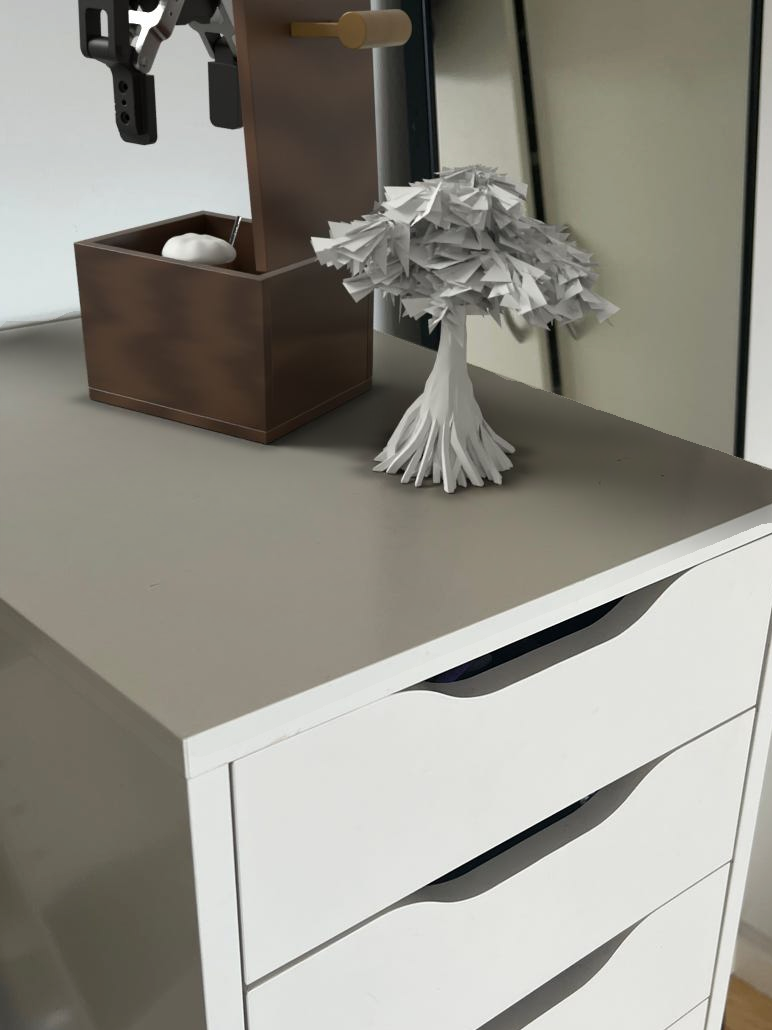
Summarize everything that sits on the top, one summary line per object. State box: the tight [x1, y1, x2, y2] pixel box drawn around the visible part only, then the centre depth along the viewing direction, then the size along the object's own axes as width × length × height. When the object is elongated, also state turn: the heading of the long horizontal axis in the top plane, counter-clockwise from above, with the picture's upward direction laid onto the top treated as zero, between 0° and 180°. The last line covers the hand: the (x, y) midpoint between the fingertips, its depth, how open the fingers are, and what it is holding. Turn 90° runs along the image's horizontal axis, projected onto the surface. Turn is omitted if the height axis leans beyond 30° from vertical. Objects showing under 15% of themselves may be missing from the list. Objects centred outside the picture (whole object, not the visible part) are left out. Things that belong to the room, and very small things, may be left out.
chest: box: [73, 209, 375, 445], centre depth 78 cm, size 14×13×10 cm
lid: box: [232, 0, 413, 272], centre depth 69 cm, size 14×13×6 cm
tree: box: [310, 163, 621, 494], centre depth 68 cm, size 18×16×17 cm
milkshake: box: [162, 215, 242, 271], centre depth 78 cm, size 4×5×10 cm
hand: (184, 135), depth 74 cm, fingers open, 8 cm apart
